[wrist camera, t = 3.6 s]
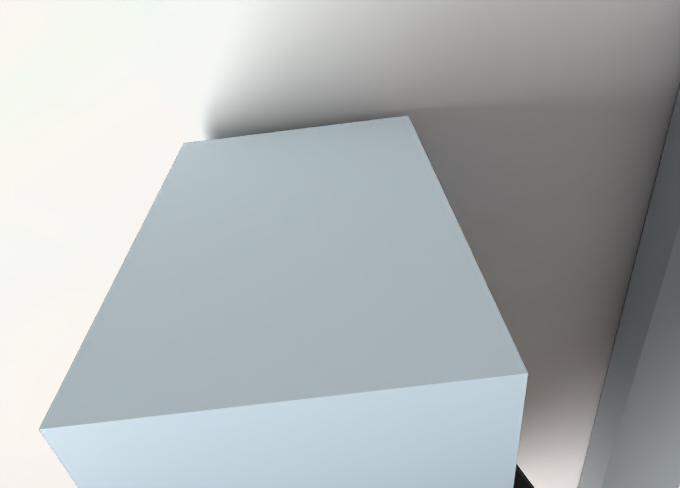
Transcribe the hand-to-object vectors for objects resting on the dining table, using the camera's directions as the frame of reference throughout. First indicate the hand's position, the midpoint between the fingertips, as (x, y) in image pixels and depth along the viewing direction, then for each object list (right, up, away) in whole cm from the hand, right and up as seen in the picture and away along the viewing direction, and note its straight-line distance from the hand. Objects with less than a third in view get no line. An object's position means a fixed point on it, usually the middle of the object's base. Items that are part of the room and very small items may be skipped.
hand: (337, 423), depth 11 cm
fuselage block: (0, +1, +1) cm, 2 cm away
